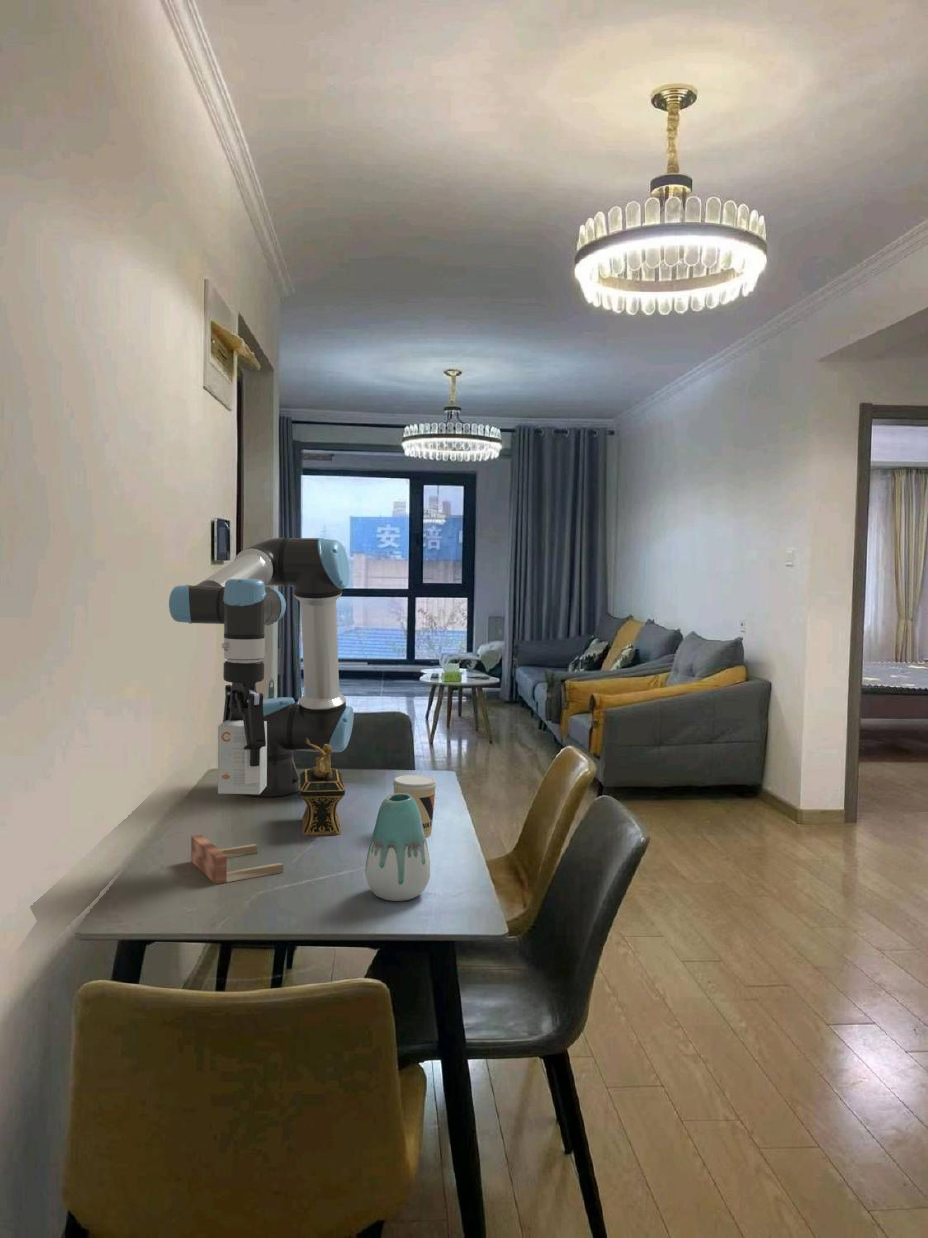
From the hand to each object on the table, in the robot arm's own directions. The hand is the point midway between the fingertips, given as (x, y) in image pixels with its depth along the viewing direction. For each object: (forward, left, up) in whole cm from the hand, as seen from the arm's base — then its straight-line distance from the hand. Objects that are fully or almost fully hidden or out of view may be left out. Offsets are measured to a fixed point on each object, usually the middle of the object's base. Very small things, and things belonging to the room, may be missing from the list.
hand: (242, 776), depth 178 cm
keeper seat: (0, -1, -17) cm, 17 cm away
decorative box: (-15, +23, -18) cm, 33 cm away
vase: (+28, +18, -18) cm, 38 cm away
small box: (0, 0, -3) cm, 3 cm away
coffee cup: (-2, +39, -18) cm, 43 cm away
